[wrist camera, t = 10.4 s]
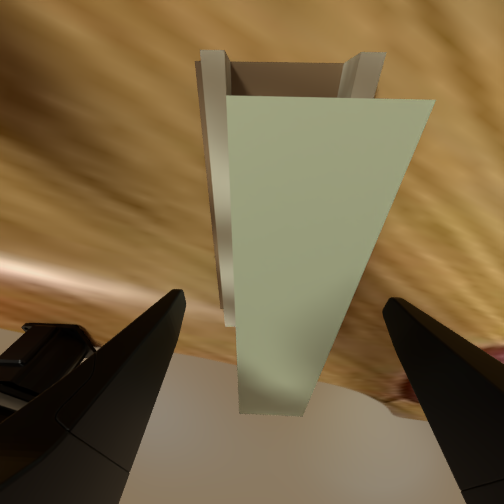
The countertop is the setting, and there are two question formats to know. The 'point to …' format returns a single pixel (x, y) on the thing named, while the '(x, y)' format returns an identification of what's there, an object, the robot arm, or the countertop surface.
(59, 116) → the countertop surface
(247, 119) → the pale green rectangular block
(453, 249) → the countertop surface
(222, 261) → the bottom track
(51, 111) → the countertop surface
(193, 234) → the countertop surface
